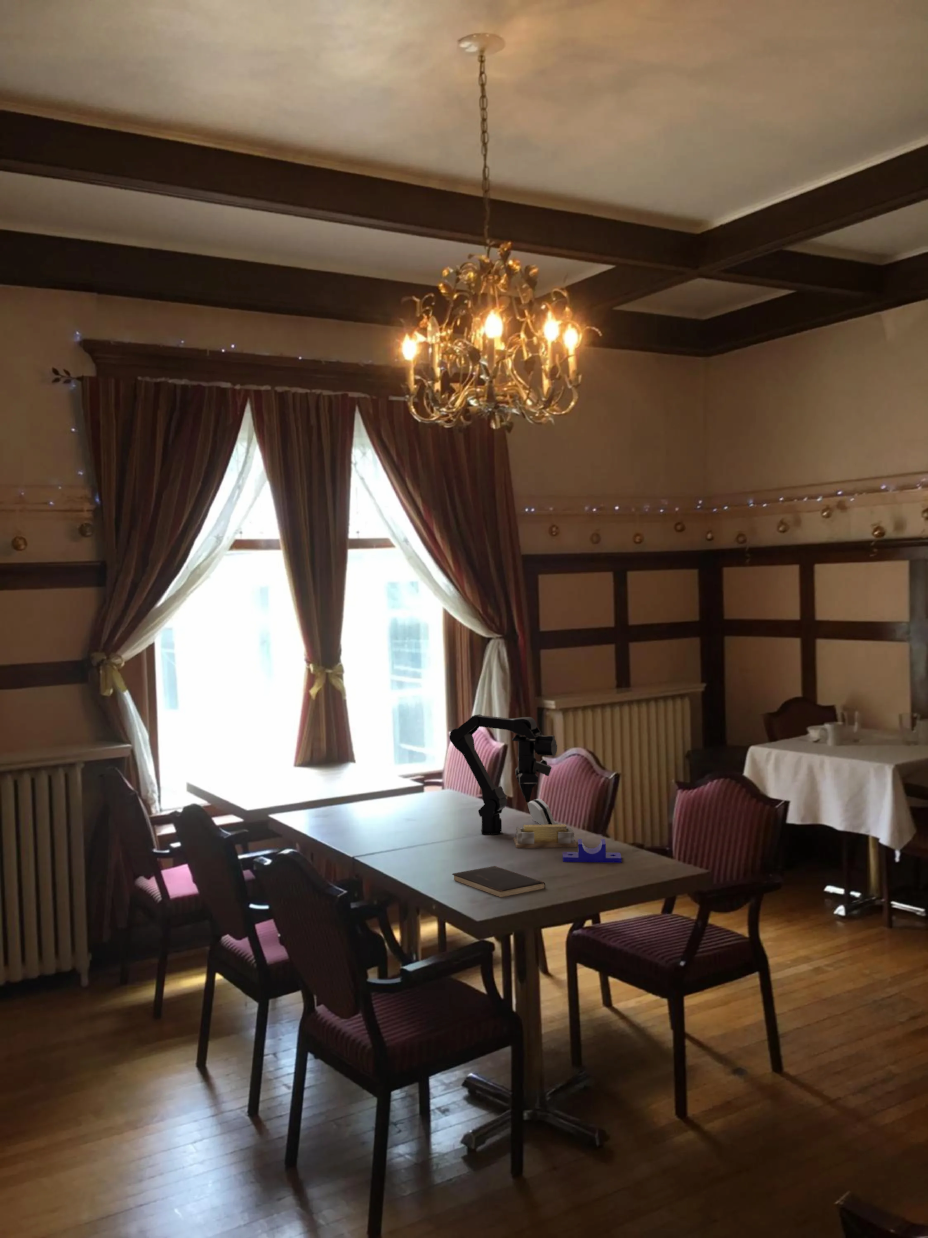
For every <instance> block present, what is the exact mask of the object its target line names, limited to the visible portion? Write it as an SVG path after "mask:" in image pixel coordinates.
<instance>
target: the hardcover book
mask: <svg viewBox="0 0 928 1238" xmlns="http://www.w3.org/2000/svg"><path fill="white" fill-rule="evenodd" d="M451 875H453V880H454V881H456V882H458V883H462V884H463V885H467V886H470V887H472V888H475V889H477V890H480V891H484V892H485V893H488V894H492V895H494V896H497V897H500V898H504V897H509V896H513V895H517V894H523V893H528V892H534V891H537V890H542V889H546V883H545V882H544V881H541V880H540V879H536V878H533V877H529V876H527V875H524V874H520V873H517V872H514V871H511V870H508V869H506V868H502V867H500V866H497V865H491V866H487V867H481V868H476V869H471V870H470V869H469V870H465V871H459V872H454V873H452V874H451Z"/></svg>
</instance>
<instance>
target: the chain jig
mask: <svg viewBox="0 0 928 1238" xmlns="http://www.w3.org/2000/svg"><path fill="white" fill-rule="evenodd" d="M515 834H516V837H513V843H514V845H515V848H516V849H528V848H534V849H537V848H538V849H539V848H547V849H548V848H578V842H577V841H576V840H575V831H574V830H573V828H572V827H571V826H567V832H558V842H534V832H523V827H516V828H515Z"/></svg>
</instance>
